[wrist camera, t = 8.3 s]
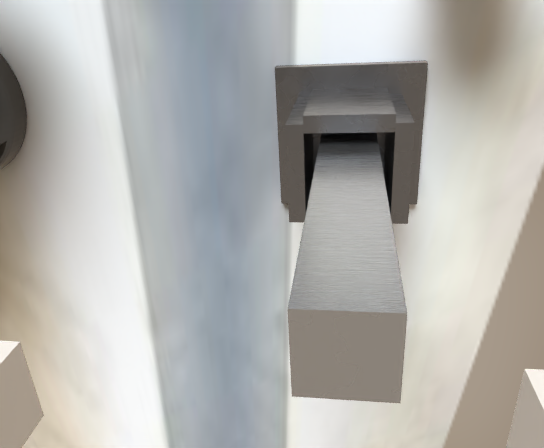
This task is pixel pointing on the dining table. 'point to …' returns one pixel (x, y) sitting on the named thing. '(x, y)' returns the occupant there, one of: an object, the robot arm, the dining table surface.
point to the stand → (351, 123)
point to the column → (347, 280)
